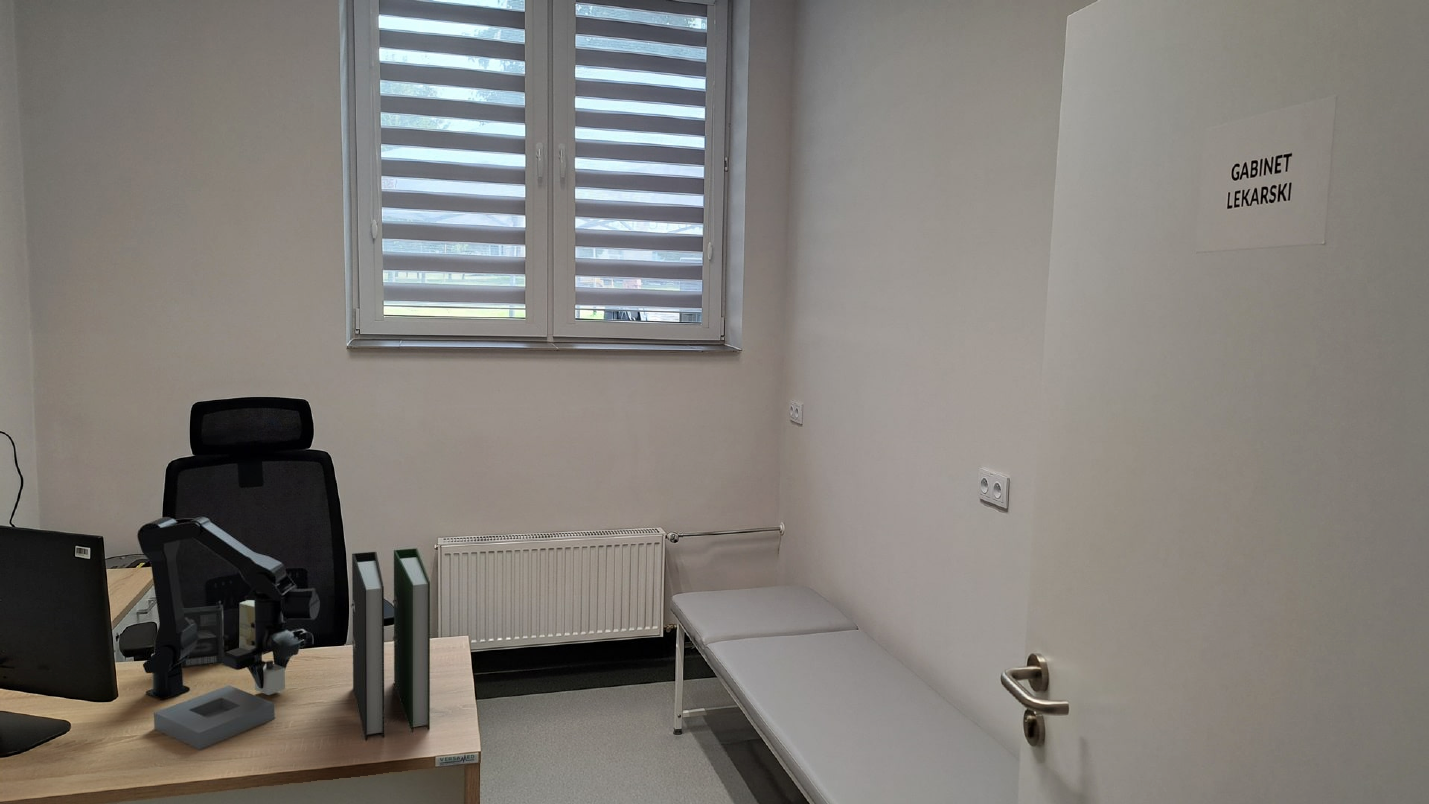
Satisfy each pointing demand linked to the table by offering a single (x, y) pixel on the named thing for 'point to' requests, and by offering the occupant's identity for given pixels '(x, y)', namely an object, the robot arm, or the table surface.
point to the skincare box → (246, 624)
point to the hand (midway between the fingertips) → (269, 684)
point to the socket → (213, 716)
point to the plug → (272, 678)
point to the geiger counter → (206, 635)
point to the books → (406, 637)
